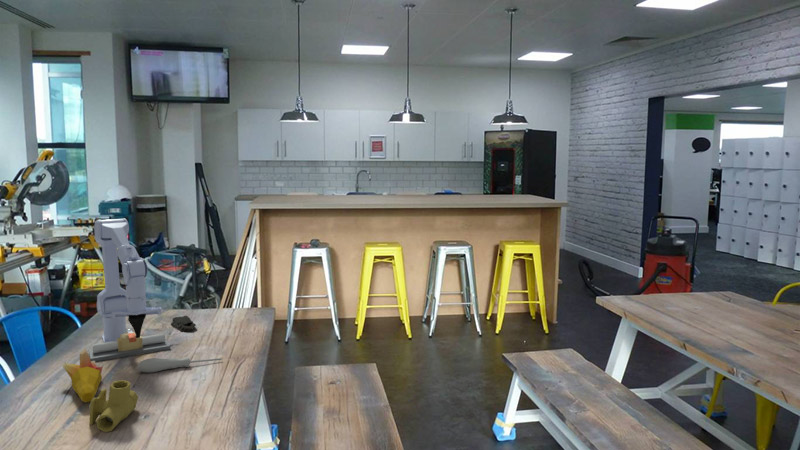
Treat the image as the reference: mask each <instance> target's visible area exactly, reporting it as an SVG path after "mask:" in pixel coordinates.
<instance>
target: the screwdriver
mask: <svg viewBox="0 0 800 450" xmlns="http://www.w3.org/2000/svg"><path fill="white" fill-rule="evenodd" d="M222 360H223V358H221V357H219V358H209V359H207V358H206V359H197V360H191V359H190V357H189V356H186V357H184V358H159V357H158V358H157V357H151V358H146V359H142V360H141V361H139V363H138V364H137V371H139V372H141V373H147V374H151V373H157V372H160V371H166V370H171V369H177V368H180V367H185V368H190V365H191V364H192V363H203V362H213V361H214V362H215V361H222Z"/></svg>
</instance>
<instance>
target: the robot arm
mask: <svg viewBox="0 0 800 450" xmlns="http://www.w3.org/2000/svg"><path fill="white" fill-rule="evenodd" d="M93 232H94V239H95V242H96V243H98V244H100V246H101V250H102V261H103V262H102V263H103V264H102V265H103V275H104V286H105V287H104V288H103V290H101V291H100V292H99V293H98V294H97V295H96V311H97V313H98V315H99V316H101V317H102V323H103V326H102V327H103V334H101V338H102V341H103V342H102V343H106V342H112V341H117V338H120V334H126V333H125V329H127V322H126V317H128V319H127V321H128V323H130V325H131V328H133V332H135V334H136V338H140V335H142V334H141V332H142V327H143V324H144V321H145V320H146V316H148V315H149V316H150V315H158V316H159V315H161V314H162V307H158V306H157V307H155V306H154V307H153V306H152V307H147V291H146V290H147V289H146V277H147V276H148V271H149V270H148V264H147V261H146V259H145V258H142V257H140V255H139V253H138V251H137V249H136V247H135V246H134V245H133V244H130V242H129V239H128V236H129V235H128V234H129V232H130V225H129V222H128V220H127V219H126V218H124V217H123V218H111V219H110V218H109V219H96V220H95V221H94V229H93ZM119 261H120V264H121V271H122V276H123V282H124V284H125V289H124V288H123V287H121V282H120V272H119V271H120V270H119Z"/></svg>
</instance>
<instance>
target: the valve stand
mask: <svg viewBox="0 0 800 450" xmlns="http://www.w3.org/2000/svg"><path fill="white" fill-rule="evenodd" d="M133 333H135V331H133ZM135 335H136V334H135ZM91 347H92V348H91V349H88V355H89V358H90V360H91V361H95V363H96V362H102V361H107V360H111V359H113V360H114V359H119V358H125V357H126V358H127V357H131V356H139V355H144V354H150V353H157V352H161V351H168V350H171V344H170V343H169V341H168V340H167V338H166V335H165V333H159V334H153V335H147V336H142V334H140V338H136V342H129V340H128V334H127V333H126V334H120V338H117V341H112V342H106V343H104V342H100V343H95V344H94V343H93V344H92V346H91Z"/></svg>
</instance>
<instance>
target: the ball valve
mask: <svg viewBox="0 0 800 450" xmlns="http://www.w3.org/2000/svg"><path fill="white" fill-rule="evenodd" d="M131 385H132V383H131V382H130V381H128V380H124V379H120V380H114V381H113V382H111V384H110V386H109V392H108V399H107V389H106V388H102V389H101V391H99V394H98V395H97V397H93V398H92V400H91V401H90V403H89V405H88V409H89V426H92V425H94V424H95V423H96V427H97V429H98V430H100V431H102V432H103V433H106V432H107V433H108V432H112V431H113V430H115V428H116V427H117V426H118V424H120V422H122V421H124V420H125V419H127V418H128V416H129V415H130V414H131V413H132V412H133V411H135V409H136V408H137V404H138V400H139V395H138V394H137V392H136V391H135V390H131Z"/></svg>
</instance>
